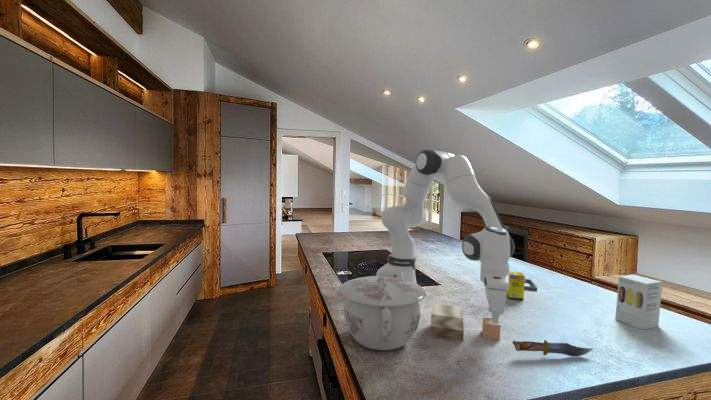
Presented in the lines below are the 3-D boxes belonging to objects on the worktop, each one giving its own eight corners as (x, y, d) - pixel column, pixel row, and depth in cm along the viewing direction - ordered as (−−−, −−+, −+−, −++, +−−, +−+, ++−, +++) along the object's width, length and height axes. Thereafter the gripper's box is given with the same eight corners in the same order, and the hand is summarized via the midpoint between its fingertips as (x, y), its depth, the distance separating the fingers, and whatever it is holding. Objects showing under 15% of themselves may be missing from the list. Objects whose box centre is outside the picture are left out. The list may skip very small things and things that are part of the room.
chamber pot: (372, 314, 126) (373, 261, 124) (439, 337, 108) (441, 275, 107) (319, 342, 104) (319, 277, 103) (392, 376, 87) (394, 299, 85)
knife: (591, 355, 99) (592, 339, 99) (594, 357, 98) (595, 341, 97) (510, 355, 98) (511, 339, 98) (512, 357, 97) (513, 341, 97)
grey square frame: (505, 287, 160) (505, 284, 160) (501, 279, 173) (502, 276, 173) (537, 290, 156) (537, 287, 156) (530, 282, 169) (530, 279, 169)
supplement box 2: (614, 319, 125) (617, 275, 124) (629, 316, 128) (633, 273, 127) (643, 330, 116) (647, 283, 115) (659, 326, 120) (663, 281, 118)
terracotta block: (483, 337, 109) (484, 323, 109) (482, 331, 114) (482, 317, 113) (499, 340, 108) (500, 325, 107) (497, 333, 112) (498, 319, 112)
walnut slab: (431, 337, 109) (431, 325, 109) (433, 324, 119) (433, 314, 119) (463, 342, 106) (463, 330, 106) (462, 329, 116) (462, 317, 116)
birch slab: (430, 325, 109) (431, 314, 109) (433, 314, 118) (433, 303, 118) (462, 330, 106) (463, 318, 106) (462, 318, 115) (462, 307, 115)
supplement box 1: (523, 300, 143) (525, 275, 143) (509, 299, 145) (510, 274, 144) (519, 295, 149) (521, 271, 148) (505, 294, 150) (506, 271, 150)
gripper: (481, 267, 120) (480, 304, 121) (487, 284, 100) (485, 328, 101) (500, 269, 118) (499, 306, 119) (509, 286, 99) (508, 331, 99)
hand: (493, 317), depth 110 cm, fingers open, 8 cm apart
